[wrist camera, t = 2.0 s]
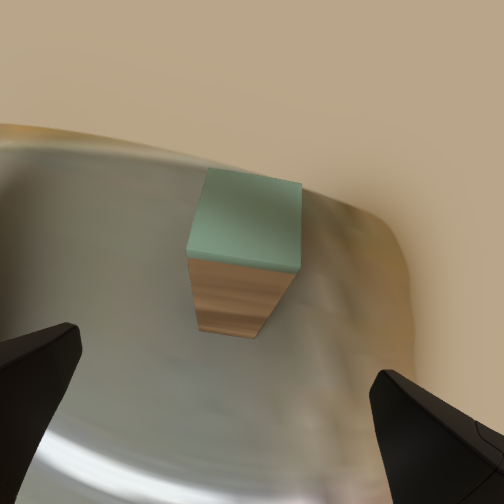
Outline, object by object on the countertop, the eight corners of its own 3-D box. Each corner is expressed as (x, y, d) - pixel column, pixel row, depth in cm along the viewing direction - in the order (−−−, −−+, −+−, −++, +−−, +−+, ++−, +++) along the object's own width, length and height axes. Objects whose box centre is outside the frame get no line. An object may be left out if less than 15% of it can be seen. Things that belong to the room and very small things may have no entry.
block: (253, 338, 20) (300, 267, 10) (199, 330, 20) (186, 249, 10) (259, 288, 22) (302, 183, 12) (208, 280, 22) (208, 167, 12)
